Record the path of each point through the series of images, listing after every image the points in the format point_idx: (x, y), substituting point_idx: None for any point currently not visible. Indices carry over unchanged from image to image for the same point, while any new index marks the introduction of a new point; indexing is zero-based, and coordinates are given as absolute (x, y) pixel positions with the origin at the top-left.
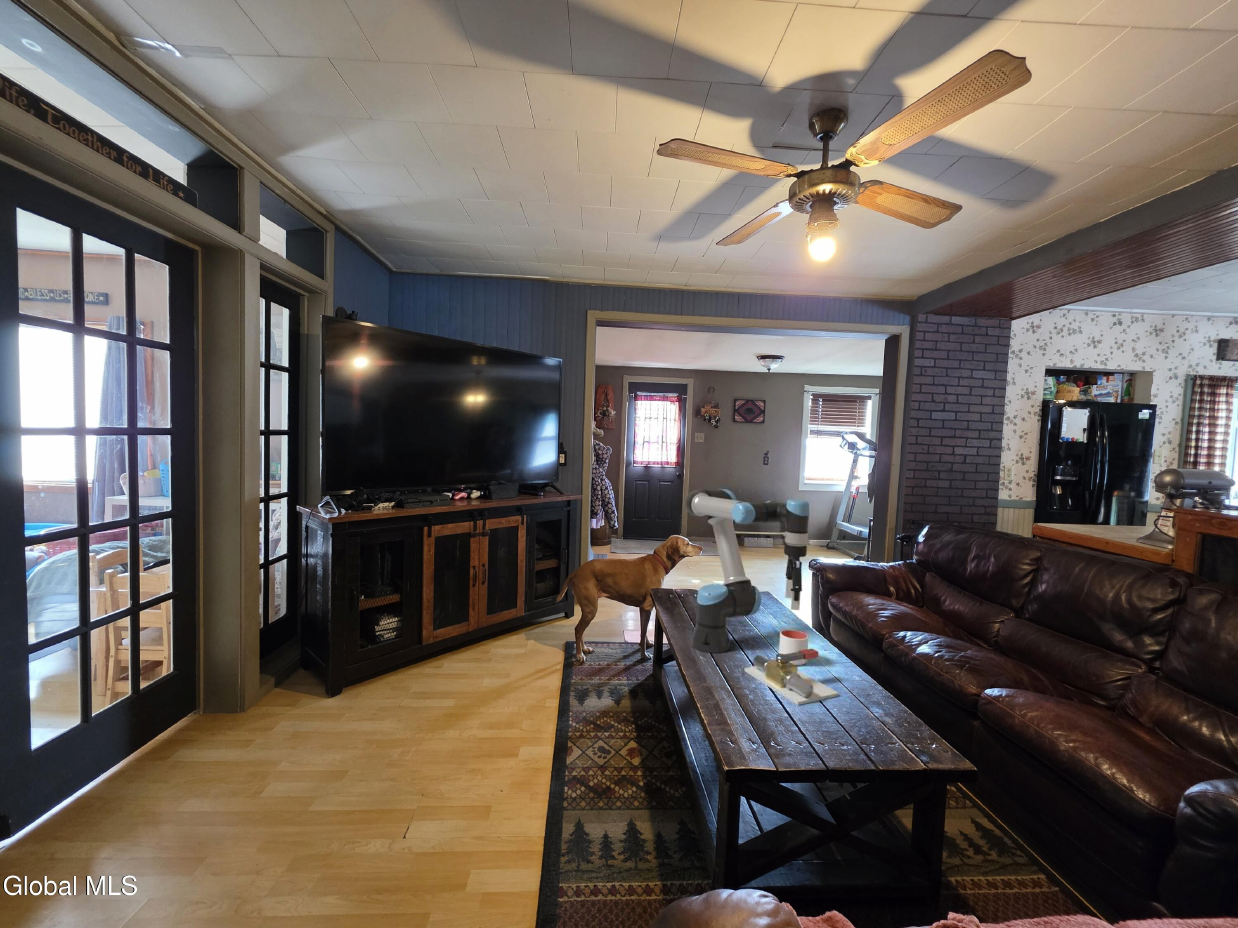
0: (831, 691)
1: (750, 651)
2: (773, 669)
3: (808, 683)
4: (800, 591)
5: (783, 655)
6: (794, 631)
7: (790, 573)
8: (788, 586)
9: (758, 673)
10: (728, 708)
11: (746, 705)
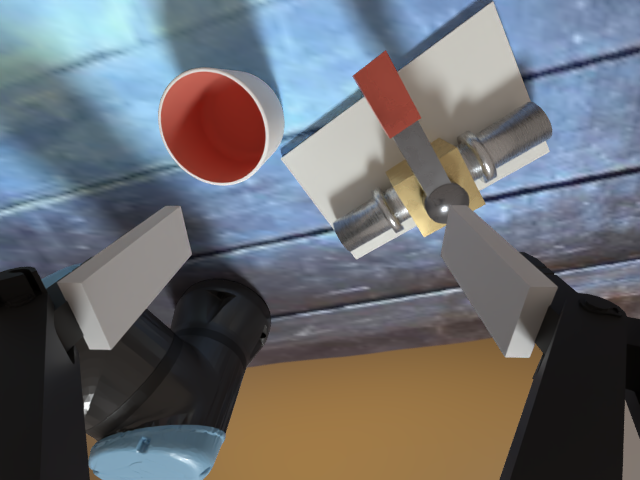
0: (482, 27)
1: (223, 233)
2: None
3: (544, 122)
4: (597, 297)
5: (442, 200)
6: (163, 121)
7: (72, 413)
8: (142, 288)
9: None
10: None
11: None
